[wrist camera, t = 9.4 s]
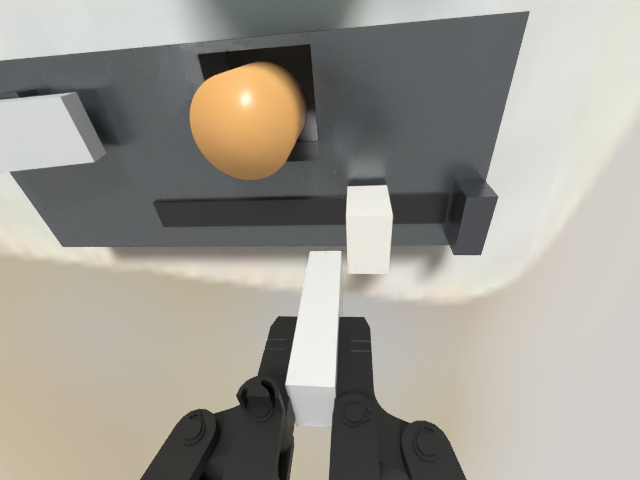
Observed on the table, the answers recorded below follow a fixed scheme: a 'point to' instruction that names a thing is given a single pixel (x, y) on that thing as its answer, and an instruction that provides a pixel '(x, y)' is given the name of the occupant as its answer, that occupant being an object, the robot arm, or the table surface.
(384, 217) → the slider knob
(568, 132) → the table surface
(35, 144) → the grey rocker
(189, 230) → the console panel
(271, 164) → the orange button
